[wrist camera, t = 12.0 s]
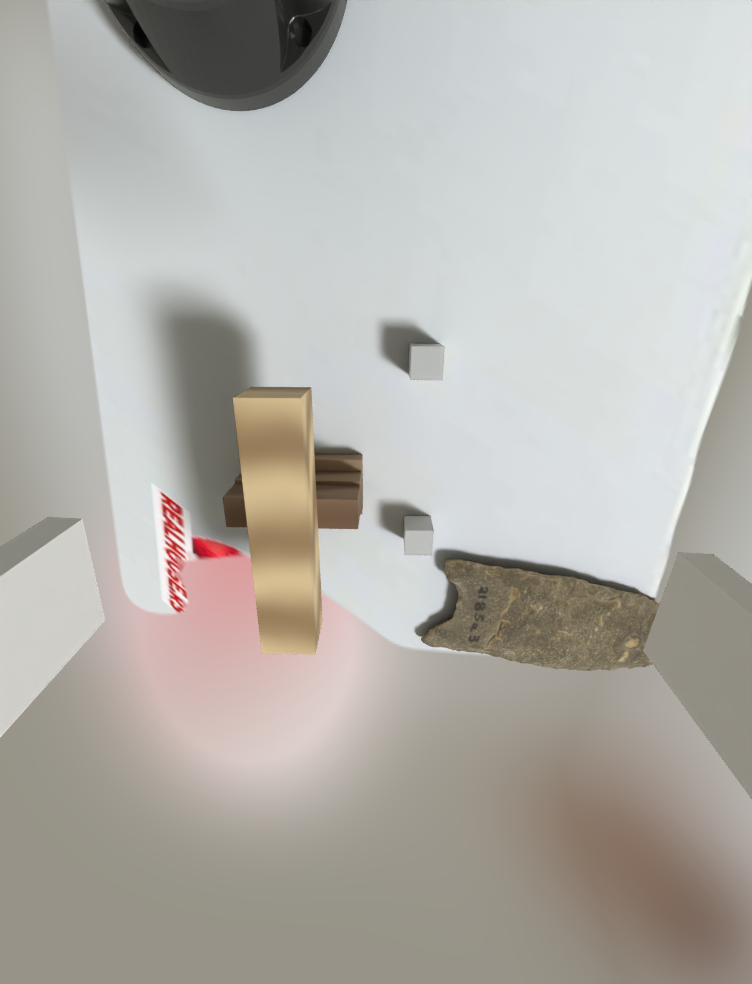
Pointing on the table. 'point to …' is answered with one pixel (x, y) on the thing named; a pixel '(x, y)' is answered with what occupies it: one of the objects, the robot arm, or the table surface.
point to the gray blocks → (422, 367)
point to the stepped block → (318, 493)
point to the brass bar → (281, 514)
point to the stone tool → (544, 619)
